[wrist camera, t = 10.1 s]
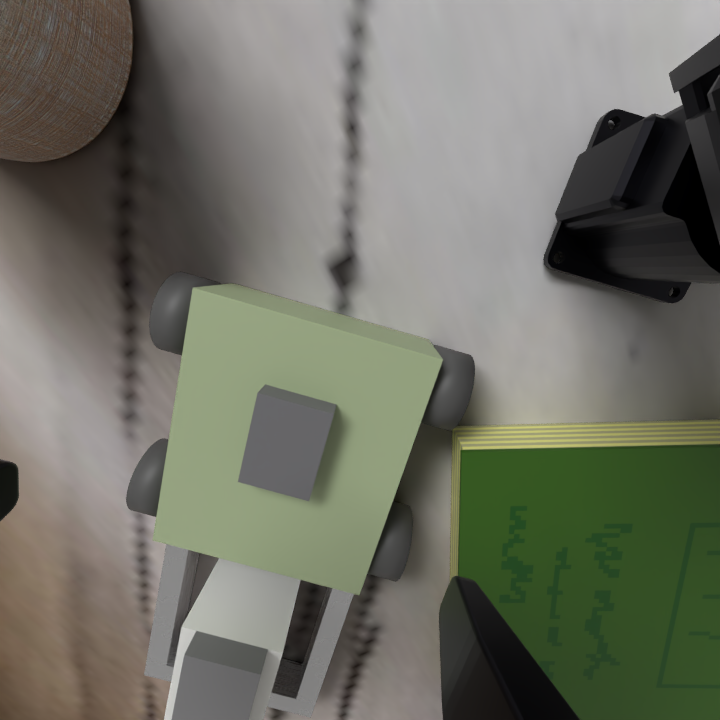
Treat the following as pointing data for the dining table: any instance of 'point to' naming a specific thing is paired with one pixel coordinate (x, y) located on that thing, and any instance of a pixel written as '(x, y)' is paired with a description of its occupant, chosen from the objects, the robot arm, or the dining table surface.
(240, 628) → the chute block
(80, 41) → the planter
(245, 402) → the green wheeled cart
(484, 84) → the dining table surface
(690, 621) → the hardcover book
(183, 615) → the gray rectangular open frame
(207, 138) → the dining table surface
